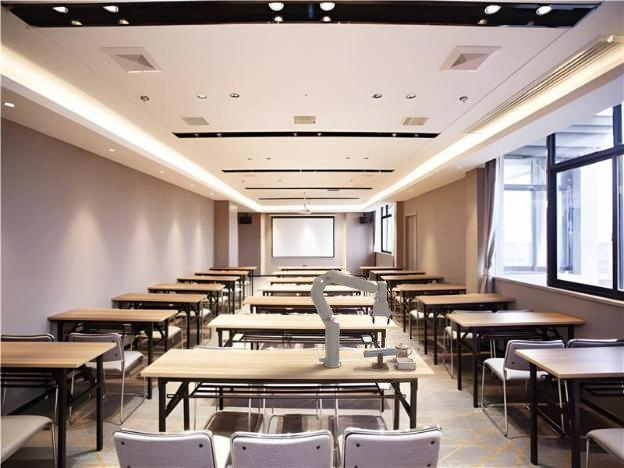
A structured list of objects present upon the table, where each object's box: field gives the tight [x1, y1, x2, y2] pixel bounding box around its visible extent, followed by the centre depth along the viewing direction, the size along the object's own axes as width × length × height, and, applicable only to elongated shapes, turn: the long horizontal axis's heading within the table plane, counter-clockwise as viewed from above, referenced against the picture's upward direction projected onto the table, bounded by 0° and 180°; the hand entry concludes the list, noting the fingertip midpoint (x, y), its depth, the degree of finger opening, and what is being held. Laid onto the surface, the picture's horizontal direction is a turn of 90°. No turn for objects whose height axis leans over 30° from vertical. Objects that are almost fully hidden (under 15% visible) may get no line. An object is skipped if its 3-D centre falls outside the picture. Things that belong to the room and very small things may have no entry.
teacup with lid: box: [394, 341, 413, 359], centre depth 258 cm, size 12×9×12 cm
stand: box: [371, 354, 390, 370], centre depth 244 cm, size 10×11×10 cm
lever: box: [362, 347, 397, 359], centre depth 247 cm, size 22×13×3 cm, turn 84°
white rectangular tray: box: [395, 357, 417, 371], centre depth 242 cm, size 11×9×4 cm
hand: (380, 324), depth 250 cm, fingers open, 9 cm apart
